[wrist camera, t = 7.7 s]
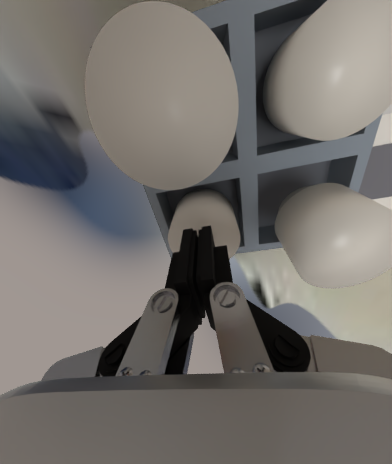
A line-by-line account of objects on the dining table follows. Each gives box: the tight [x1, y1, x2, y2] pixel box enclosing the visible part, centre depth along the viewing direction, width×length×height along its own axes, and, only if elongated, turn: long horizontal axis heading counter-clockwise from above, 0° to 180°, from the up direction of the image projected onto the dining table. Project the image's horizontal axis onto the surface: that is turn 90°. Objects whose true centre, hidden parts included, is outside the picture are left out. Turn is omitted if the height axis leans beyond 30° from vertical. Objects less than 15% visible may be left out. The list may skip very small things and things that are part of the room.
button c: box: [168, 189, 240, 259], centre depth 14 cm, size 5×5×5 cm
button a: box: [85, 1, 239, 190], centre depth 8 cm, size 5×5×5 cm
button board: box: [90, 0, 383, 258], centre depth 13 cm, size 15×15×3 cm
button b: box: [263, 0, 392, 141], centre depth 9 cm, size 5×5×5 cm
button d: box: [275, 183, 392, 288], centre depth 11 cm, size 5×5×5 cm
